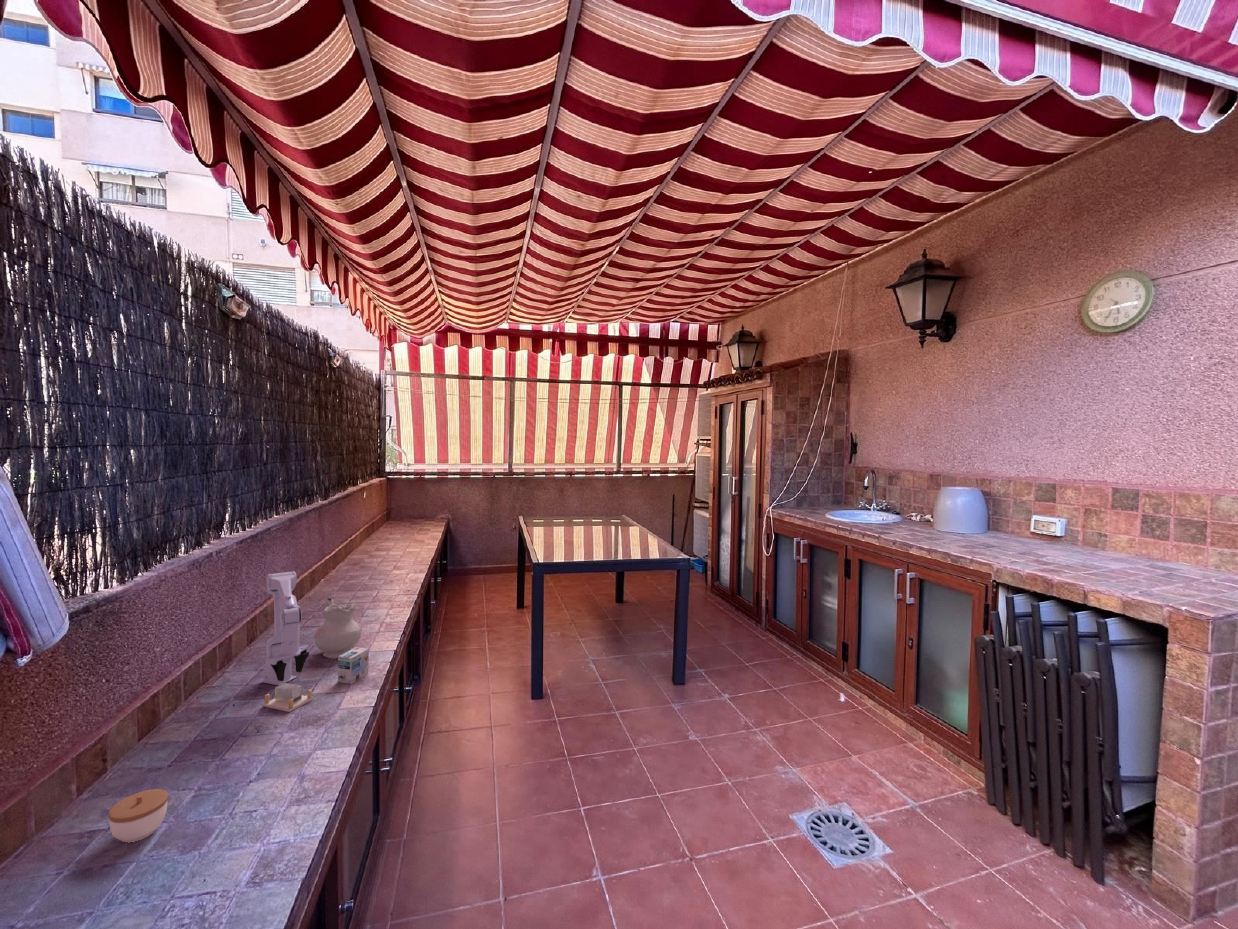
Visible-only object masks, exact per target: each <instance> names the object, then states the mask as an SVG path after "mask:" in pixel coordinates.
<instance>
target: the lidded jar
mask: <svg viewBox="0 0 1238 929" xmlns="http://www.w3.org/2000/svg"><path fill="white" fill-rule="evenodd" d="M168 800H169V792H168V791H167V790H165V789H162V788H152V789H146V790H142V791H140V792H136V793H134V794H131V795H129V796H127V797H124V798H123V799H121V800H120V801H118V802H116V803H115V804H114V805H113V806H112V807H111V808H110V810H109V812H108V820H109V829H110V834H112V836H113V837H114V838H115V839H116V840H118V841H121V842H123V843H124V842H126V843H125V844H131V843H130V842H133V843H136V842H135V841H137V842H139V841H142V840H145V839H146V838H148V837H150V836H151V835H152V834H153V833H154V832H156V829H157V828H158V827H159V826H160V825H161V823H162V822H163V821H164V819H165V817H166V814H167V811H168V810H167V809H168V802H169V801H168ZM138 840H139V841H138ZM127 842H128V843H127Z"/></svg>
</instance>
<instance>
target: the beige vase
mask: <svg viewBox="0 0 1238 929" xmlns="http://www.w3.org/2000/svg"><path fill="white" fill-rule="evenodd" d="M356 607H357V604H356V603H350V604H348V605H344V604H336V603H334V600H333V597H331V596H330V597H329V596H326V597H325V602H324V608H323V611H322V615H323V617H324V622H323V624H322V625H320V626H319V627H318V628H317V629H316V630H315V632H314V636H313V639H314V644H315V646H316V647H317V649H318V650H320V651H321V652H323V654H322V656H323V657H325V658H329V659H333V660H335V659H336V660H338V656H340V655H342V654H344V653H346V652H348V651H350V650H351V649H353V648H355V647H356V645H357V644H358V643H359V641H360V639H361V636H362V633H363V629H362V626H361V624H360V623H358V622H357V621H355V620H354V618H353V614H354V612H355V610H356Z"/></svg>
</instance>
